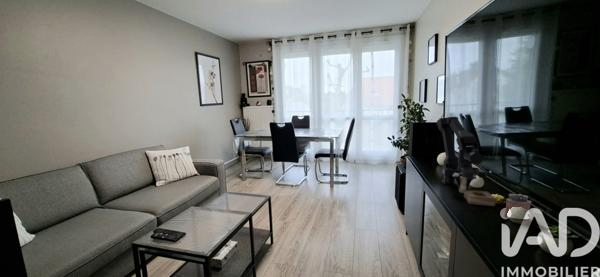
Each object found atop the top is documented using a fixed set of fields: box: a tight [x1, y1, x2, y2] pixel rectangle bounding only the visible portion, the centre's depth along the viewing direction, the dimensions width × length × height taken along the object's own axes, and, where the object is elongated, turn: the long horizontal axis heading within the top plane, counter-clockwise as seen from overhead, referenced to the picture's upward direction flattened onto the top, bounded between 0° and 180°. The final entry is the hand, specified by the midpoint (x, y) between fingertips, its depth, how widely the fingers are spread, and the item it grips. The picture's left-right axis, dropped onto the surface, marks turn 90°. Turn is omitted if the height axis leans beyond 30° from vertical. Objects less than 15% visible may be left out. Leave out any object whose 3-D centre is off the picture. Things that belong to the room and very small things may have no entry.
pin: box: [458, 176, 467, 194], centre depth 132 cm, size 3×3×8 cm
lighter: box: [504, 193, 532, 218], centre depth 104 cm, size 8×3×10 cm, turn 71°
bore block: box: [463, 189, 496, 207], centre depth 121 cm, size 9×10×4 cm
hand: (462, 188), depth 132 cm, fingers closed on pin, 3 cm apart
